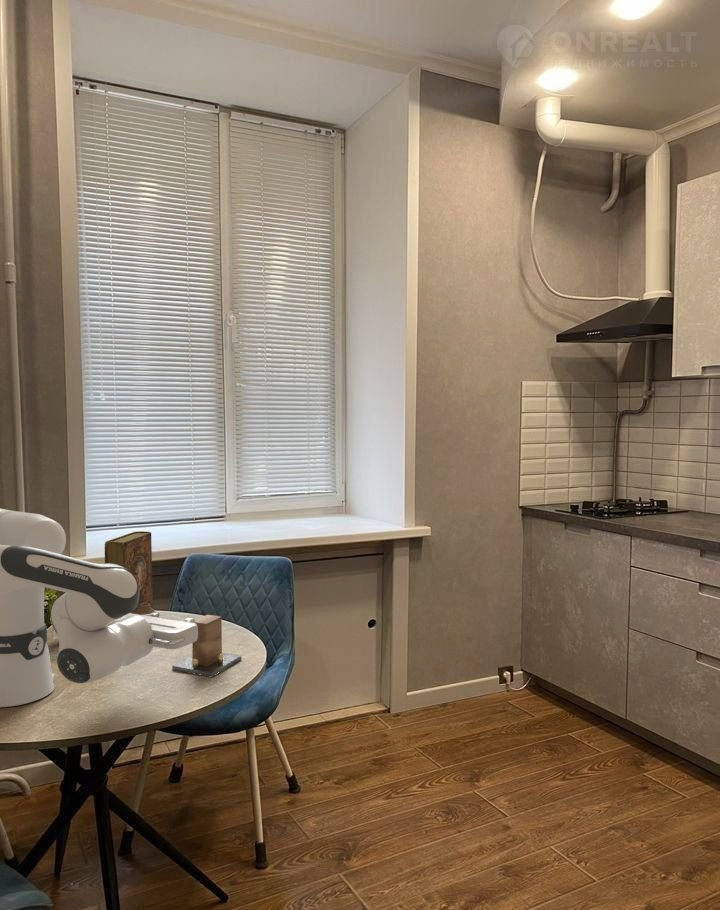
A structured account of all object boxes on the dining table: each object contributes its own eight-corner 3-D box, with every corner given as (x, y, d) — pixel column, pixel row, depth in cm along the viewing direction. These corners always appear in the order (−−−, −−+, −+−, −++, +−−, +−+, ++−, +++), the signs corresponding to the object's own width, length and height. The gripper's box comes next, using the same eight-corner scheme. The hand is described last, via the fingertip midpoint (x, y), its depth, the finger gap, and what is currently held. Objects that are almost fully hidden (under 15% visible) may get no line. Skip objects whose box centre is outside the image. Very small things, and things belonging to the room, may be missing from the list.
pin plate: (172, 669, 161) (172, 657, 161) (203, 653, 172) (203, 641, 172) (211, 677, 157) (211, 664, 156) (241, 659, 168) (241, 647, 167)
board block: (192, 663, 162) (192, 621, 161) (208, 655, 168) (207, 614, 167) (206, 666, 161) (206, 623, 160) (221, 657, 166) (221, 616, 165)
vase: (143, 642, 179) (142, 609, 179) (126, 637, 183) (125, 605, 182) (164, 635, 185) (164, 603, 184) (147, 630, 189) (146, 599, 188)
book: (137, 615, 202) (136, 531, 200) (154, 617, 201) (153, 531, 199) (106, 634, 186) (104, 541, 184) (124, 635, 185) (123, 542, 183)
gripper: (173, 630, 136) (214, 610, 149) (92, 617, 144) (137, 599, 156) (174, 661, 136) (214, 639, 149) (93, 647, 144) (138, 626, 157)
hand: (174, 618), depth 153 cm, fingers open, 8 cm apart
